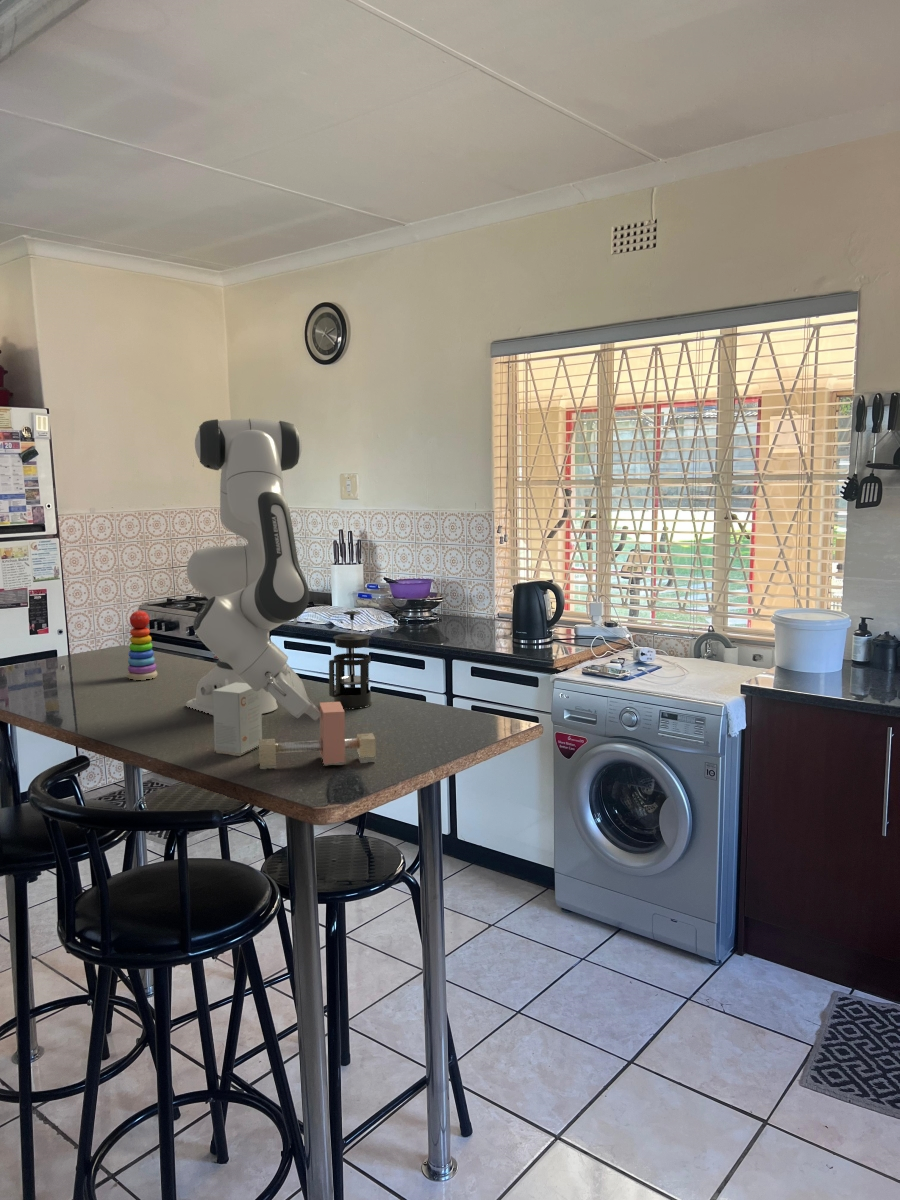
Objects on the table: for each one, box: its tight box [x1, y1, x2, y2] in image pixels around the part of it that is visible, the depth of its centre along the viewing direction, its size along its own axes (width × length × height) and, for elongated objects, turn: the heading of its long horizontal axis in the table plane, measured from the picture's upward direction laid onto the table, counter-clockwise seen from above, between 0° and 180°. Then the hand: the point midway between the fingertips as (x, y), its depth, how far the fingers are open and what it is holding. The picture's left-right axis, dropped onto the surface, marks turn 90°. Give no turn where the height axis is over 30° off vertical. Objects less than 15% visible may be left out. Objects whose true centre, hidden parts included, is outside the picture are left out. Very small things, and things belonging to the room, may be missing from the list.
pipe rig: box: [258, 732, 376, 767], centre depth 174 cm, size 22×4×5 cm, turn 103°
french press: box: [328, 610, 373, 710], centre depth 219 cm, size 12×9×23 cm
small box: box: [212, 682, 263, 753], centre depth 182 cm, size 8×6×13 cm
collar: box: [319, 701, 346, 764], centre depth 174 cm, size 4×8×10 cm, turn 13°
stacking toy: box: [126, 610, 158, 681], centre depth 246 cm, size 8×8×19 cm
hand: (318, 716), depth 173 cm, fingers closed, pressing on collar
